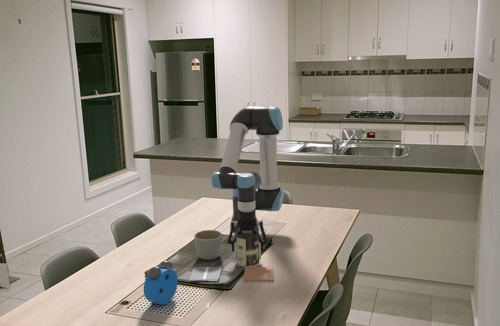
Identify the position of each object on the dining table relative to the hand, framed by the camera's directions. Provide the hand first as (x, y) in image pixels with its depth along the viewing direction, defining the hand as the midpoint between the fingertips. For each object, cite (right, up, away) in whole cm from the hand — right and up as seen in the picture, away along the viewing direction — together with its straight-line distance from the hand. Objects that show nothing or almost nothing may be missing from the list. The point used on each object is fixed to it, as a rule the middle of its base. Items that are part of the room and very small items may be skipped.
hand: (247, 258), depth 204 cm
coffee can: (0, -2, 0) cm, 2 cm away
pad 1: (-17, -5, -10) cm, 21 cm away
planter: (-18, -1, +7) cm, 19 cm away
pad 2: (+5, -5, -11) cm, 13 cm away
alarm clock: (-32, -10, -31) cm, 46 cm away
